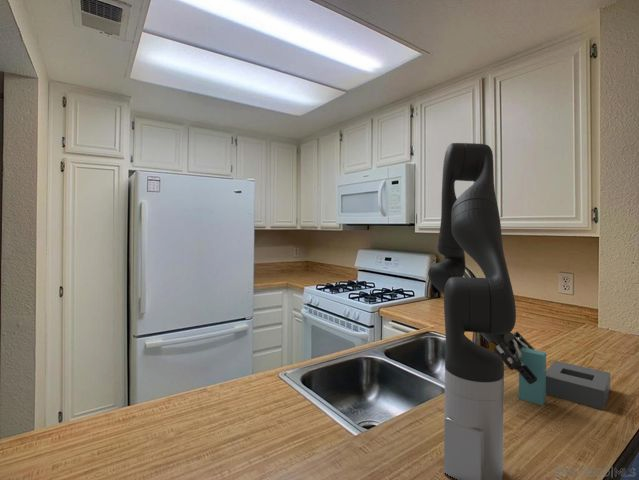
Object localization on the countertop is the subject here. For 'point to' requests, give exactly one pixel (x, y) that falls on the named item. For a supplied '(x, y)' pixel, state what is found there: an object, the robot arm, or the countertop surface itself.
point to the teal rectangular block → (538, 367)
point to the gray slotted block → (578, 384)
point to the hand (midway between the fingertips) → (538, 376)
